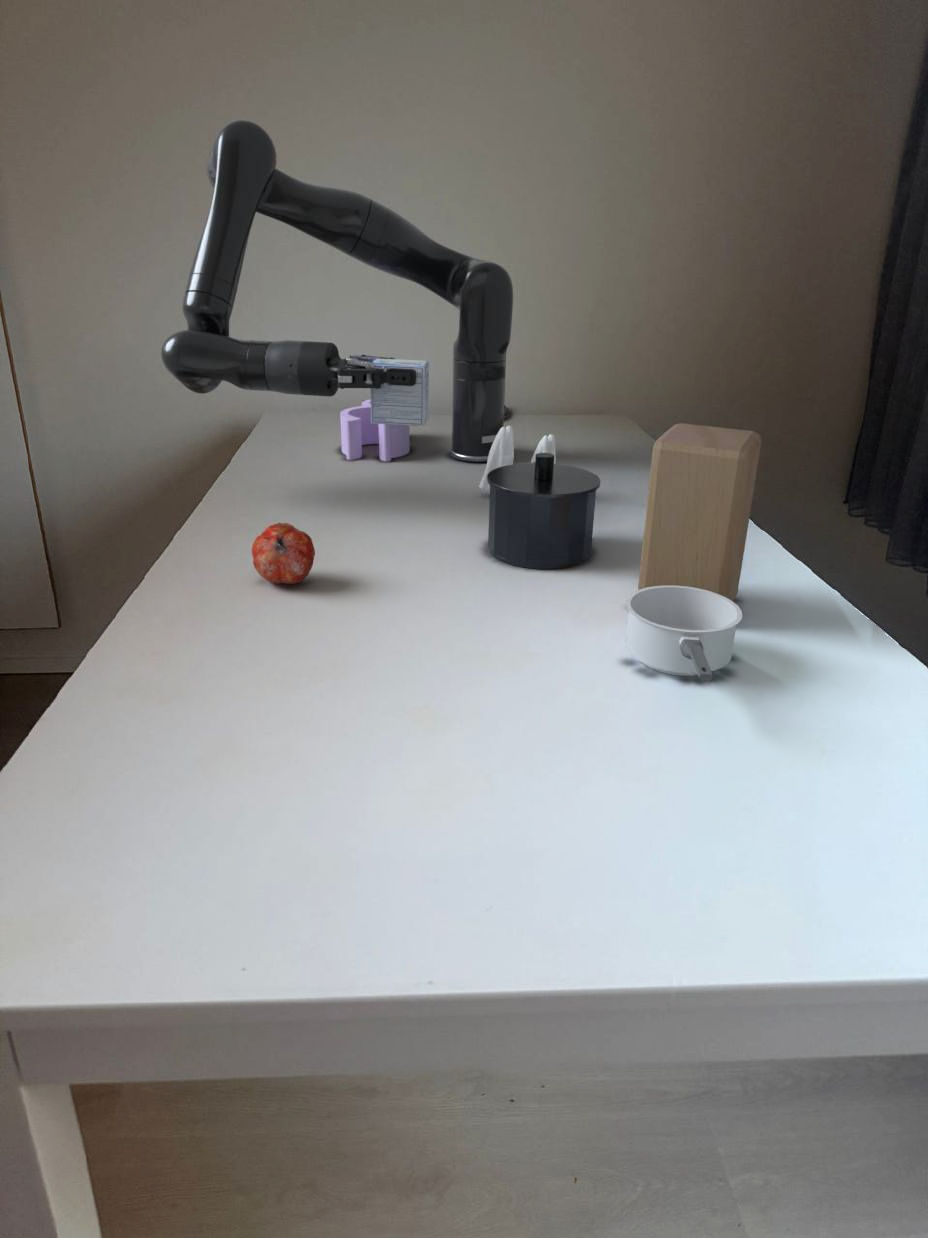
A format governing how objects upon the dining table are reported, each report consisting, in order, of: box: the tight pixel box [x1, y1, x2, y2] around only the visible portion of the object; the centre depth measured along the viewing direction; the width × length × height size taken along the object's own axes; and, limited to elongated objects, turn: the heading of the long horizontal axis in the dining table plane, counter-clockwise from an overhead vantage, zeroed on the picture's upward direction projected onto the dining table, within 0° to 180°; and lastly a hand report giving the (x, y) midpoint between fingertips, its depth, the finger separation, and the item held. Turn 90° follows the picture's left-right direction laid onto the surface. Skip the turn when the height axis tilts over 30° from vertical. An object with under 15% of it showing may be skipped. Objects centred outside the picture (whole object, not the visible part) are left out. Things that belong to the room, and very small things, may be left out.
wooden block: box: [637, 422, 762, 602], centre depth 101 cm, size 10×10×20 cm
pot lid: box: [487, 453, 601, 498], centre depth 116 cm, size 15×15×4 cm
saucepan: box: [625, 585, 743, 683], centre depth 88 cm, size 12×20×6 cm, turn 175°
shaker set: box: [479, 425, 557, 495], centre depth 141 cm, size 12×4×11 cm, turn 93°
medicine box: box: [369, 358, 430, 427], centre depth 130 cm, size 8×4×9 cm, turn 84°
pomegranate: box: [251, 522, 316, 585], centre depth 109 cm, size 7×7×10 cm
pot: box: [487, 485, 597, 570], centre depth 119 cm, size 14×14×10 cm
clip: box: [339, 398, 410, 462], centre depth 168 cm, size 20×12×7 cm, turn 174°
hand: (418, 374), depth 129 cm, fingers closed on medicine box, 4 cm apart
